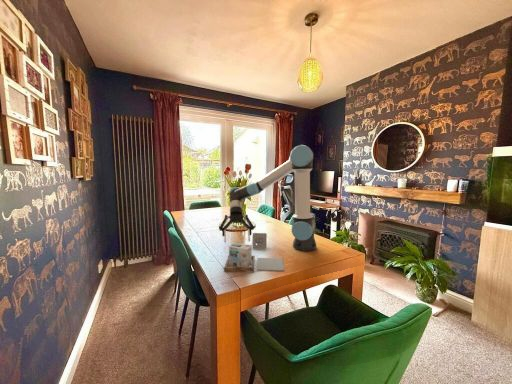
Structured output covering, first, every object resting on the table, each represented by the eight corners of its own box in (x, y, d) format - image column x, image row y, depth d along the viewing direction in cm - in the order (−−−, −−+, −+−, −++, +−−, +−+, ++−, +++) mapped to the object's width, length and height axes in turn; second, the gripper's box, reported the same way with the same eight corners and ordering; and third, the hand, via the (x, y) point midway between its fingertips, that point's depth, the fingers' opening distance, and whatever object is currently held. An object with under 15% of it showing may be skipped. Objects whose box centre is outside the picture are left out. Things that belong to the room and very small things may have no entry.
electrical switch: (252, 247, 139) (252, 233, 139) (252, 245, 144) (253, 231, 144) (266, 248, 138) (266, 234, 138) (266, 246, 144) (266, 232, 143)
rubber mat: (281, 259, 122) (281, 258, 122) (284, 271, 109) (284, 269, 108) (257, 258, 123) (257, 257, 123) (257, 270, 109) (257, 269, 109)
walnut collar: (254, 259, 122) (254, 255, 122) (254, 271, 107) (254, 268, 107) (228, 258, 122) (228, 255, 122) (224, 271, 108) (224, 267, 107)
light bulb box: (228, 266, 114) (228, 246, 112) (234, 260, 120) (234, 242, 118) (247, 269, 110) (247, 249, 109) (252, 263, 116) (252, 244, 115)
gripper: (255, 211, 138) (258, 242, 125) (215, 212, 134) (215, 244, 121) (256, 205, 132) (260, 237, 119) (215, 206, 128) (214, 238, 115)
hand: (237, 240), depth 120 cm, fingers open, 13 cm apart
